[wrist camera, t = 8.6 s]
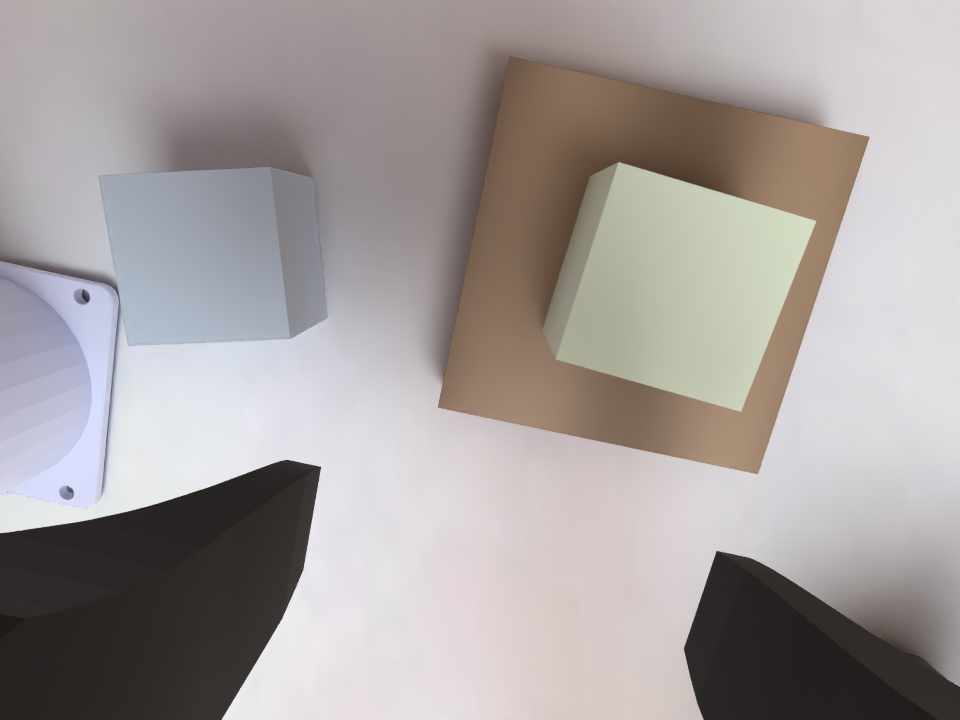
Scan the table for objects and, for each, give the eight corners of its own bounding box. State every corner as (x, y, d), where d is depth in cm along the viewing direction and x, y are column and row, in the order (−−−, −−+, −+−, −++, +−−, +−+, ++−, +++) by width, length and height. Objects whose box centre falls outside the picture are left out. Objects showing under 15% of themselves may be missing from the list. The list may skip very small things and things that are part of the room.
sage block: (542, 329, 18) (555, 359, 14) (590, 176, 17) (618, 162, 13) (687, 371, 18) (740, 411, 14) (743, 221, 17) (816, 221, 13)
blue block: (196, 323, 21) (127, 345, 17) (176, 185, 20) (98, 175, 16) (328, 317, 21) (290, 339, 17) (314, 177, 20) (270, 166, 16)
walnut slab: (445, 382, 22) (437, 407, 19) (506, 81, 19) (509, 56, 16) (721, 440, 22) (758, 474, 19) (813, 149, 20) (869, 137, 17)
